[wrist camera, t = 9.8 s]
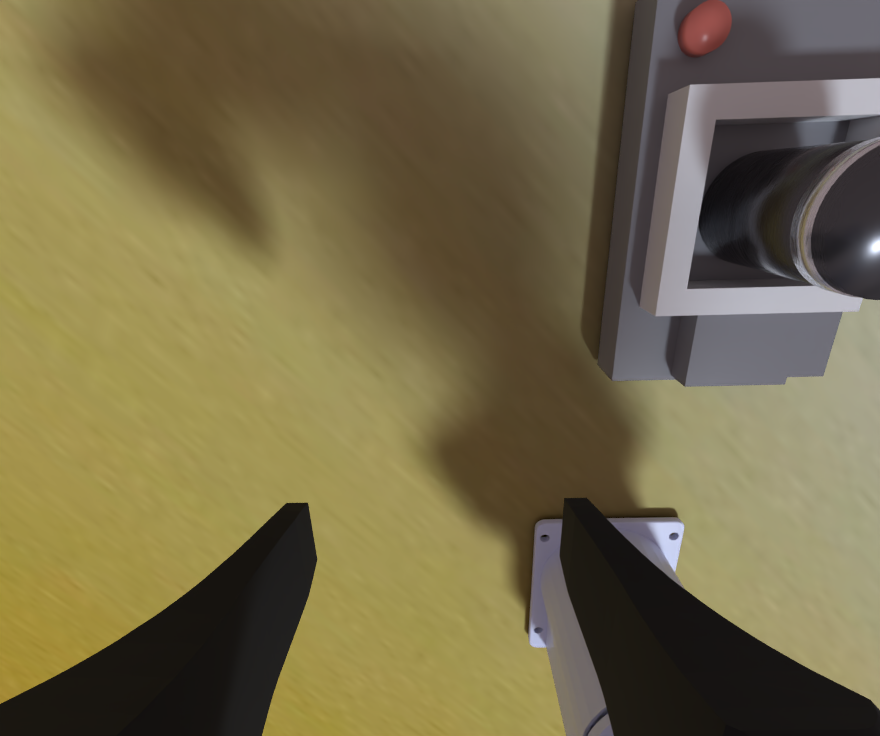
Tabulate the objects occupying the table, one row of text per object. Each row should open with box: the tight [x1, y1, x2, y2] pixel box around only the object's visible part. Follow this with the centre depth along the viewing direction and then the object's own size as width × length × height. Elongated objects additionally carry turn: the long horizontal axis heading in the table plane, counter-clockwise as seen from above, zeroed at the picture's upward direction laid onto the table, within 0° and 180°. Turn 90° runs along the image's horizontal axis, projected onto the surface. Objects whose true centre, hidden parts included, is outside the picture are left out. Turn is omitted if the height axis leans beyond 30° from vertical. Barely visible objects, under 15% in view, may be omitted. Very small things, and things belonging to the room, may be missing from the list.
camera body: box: [597, 0, 880, 387], centre depth 17 cm, size 14×9×4 cm, turn 1°
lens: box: [699, 137, 880, 300], centre depth 14 cm, size 4×4×6 cm
